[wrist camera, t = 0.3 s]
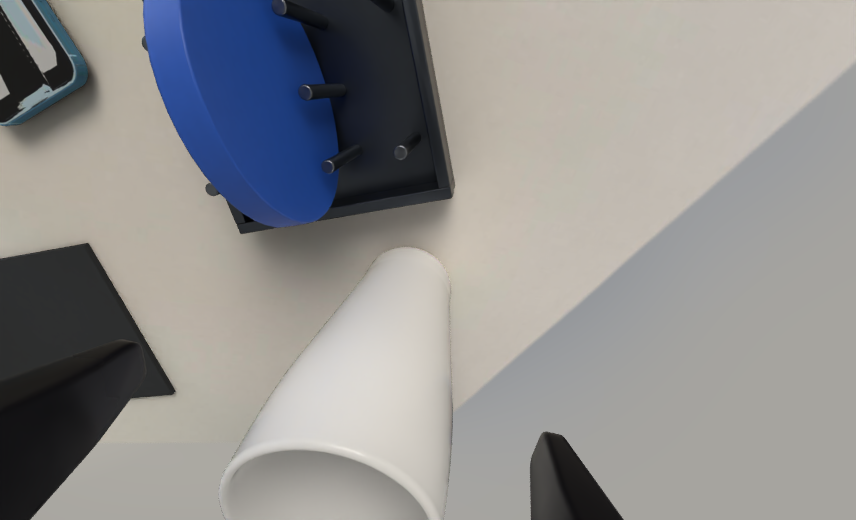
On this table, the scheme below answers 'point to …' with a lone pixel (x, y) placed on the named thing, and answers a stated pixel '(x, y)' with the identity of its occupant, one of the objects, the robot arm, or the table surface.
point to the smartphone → (34, 60)
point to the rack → (373, 104)
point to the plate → (246, 104)
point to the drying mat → (64, 313)
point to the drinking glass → (358, 409)
